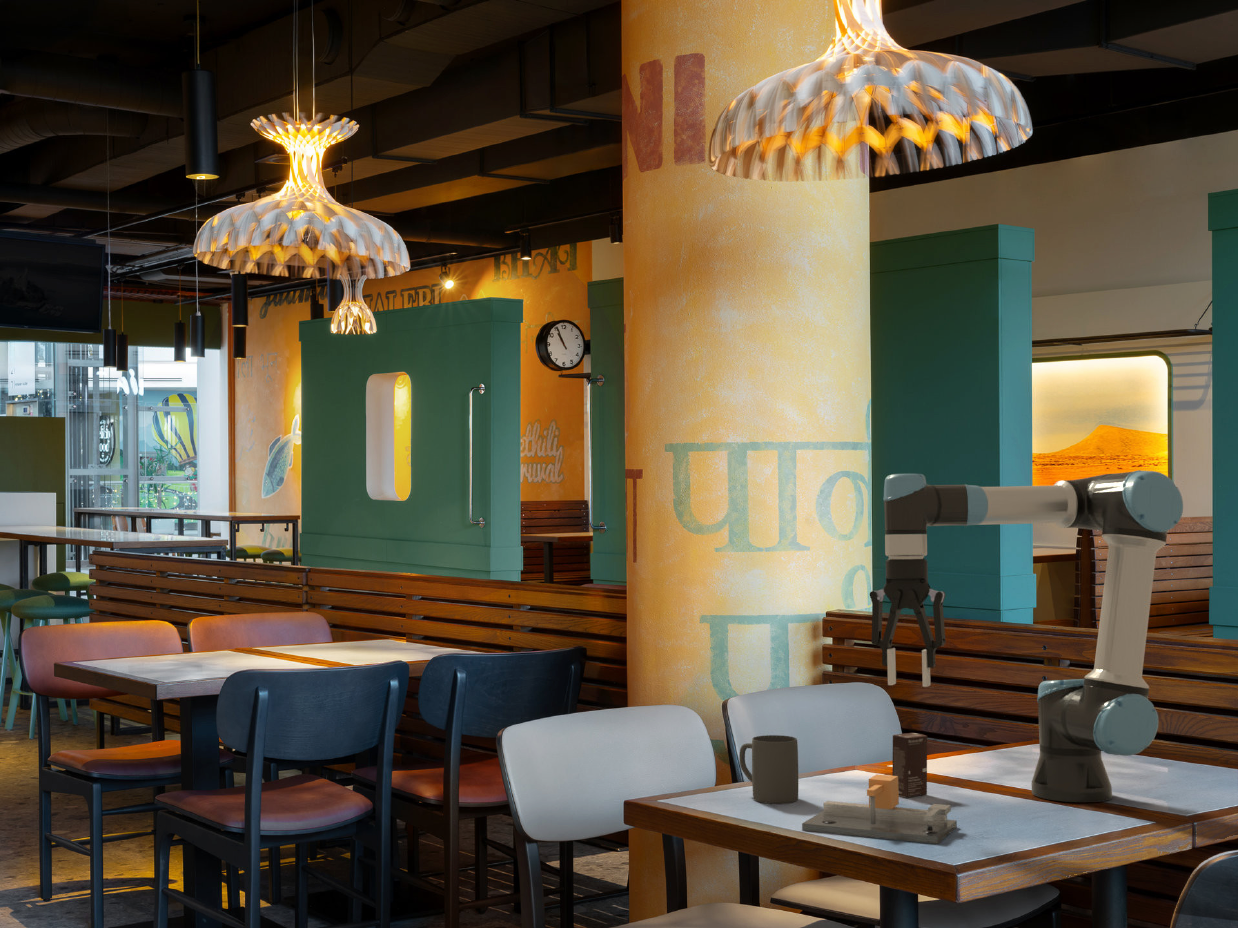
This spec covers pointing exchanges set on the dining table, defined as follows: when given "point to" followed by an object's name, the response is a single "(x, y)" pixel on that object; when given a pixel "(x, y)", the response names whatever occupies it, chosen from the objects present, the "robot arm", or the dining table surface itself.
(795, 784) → the mug
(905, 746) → the box
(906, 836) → the plate
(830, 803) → the beam
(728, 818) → the dining table surface
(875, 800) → the jaw
